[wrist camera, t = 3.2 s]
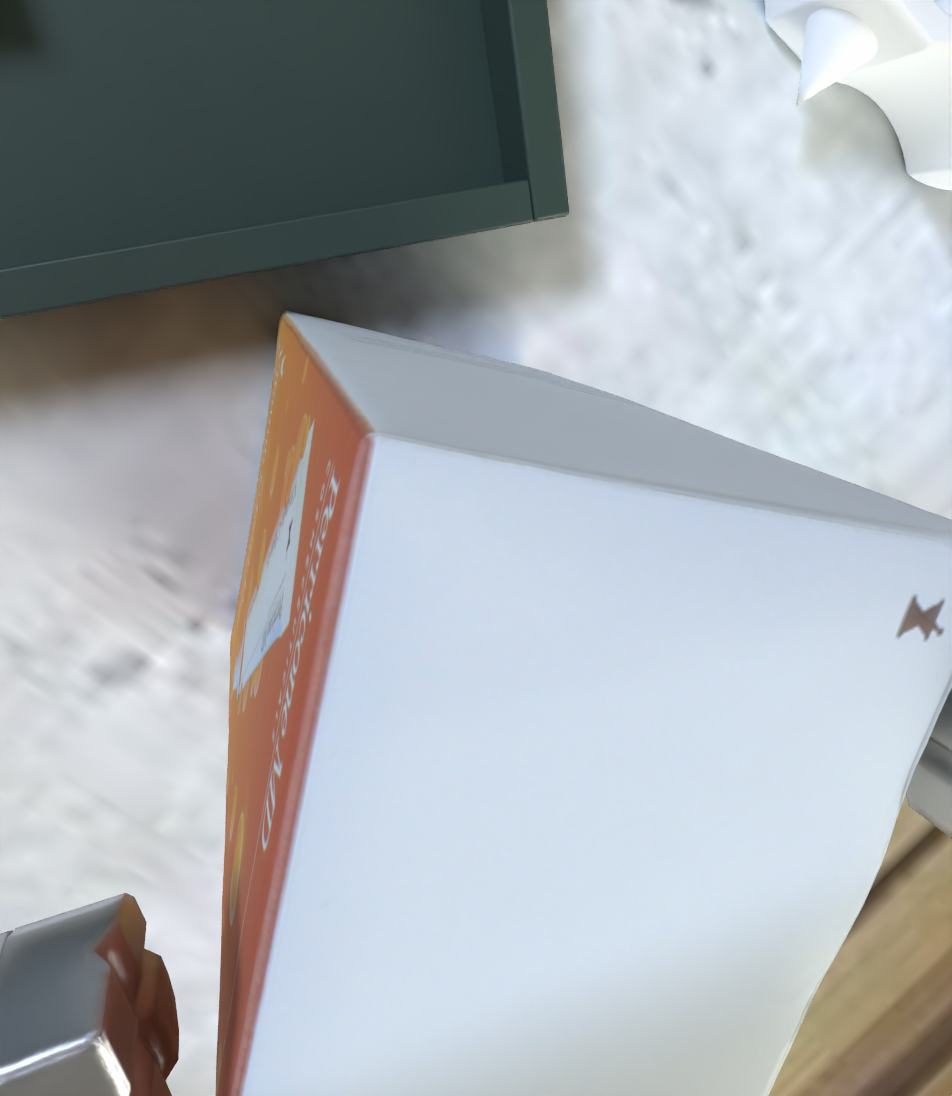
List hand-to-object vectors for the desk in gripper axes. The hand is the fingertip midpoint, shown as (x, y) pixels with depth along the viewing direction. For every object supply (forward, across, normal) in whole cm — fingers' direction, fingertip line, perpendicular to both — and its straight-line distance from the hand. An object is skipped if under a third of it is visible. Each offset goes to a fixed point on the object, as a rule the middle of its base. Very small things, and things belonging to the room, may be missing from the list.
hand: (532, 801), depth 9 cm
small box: (+12, -1, 0) cm, 12 cm away
